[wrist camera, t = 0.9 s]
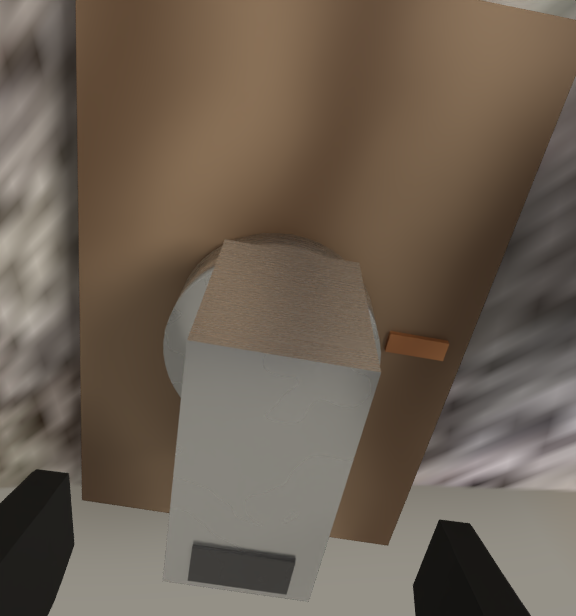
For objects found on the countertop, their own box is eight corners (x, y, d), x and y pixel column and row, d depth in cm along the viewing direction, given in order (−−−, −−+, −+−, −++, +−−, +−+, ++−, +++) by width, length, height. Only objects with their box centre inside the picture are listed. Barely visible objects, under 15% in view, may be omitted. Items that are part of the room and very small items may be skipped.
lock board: (570, 23, 15) (599, 24, 13) (383, 516, 24) (388, 549, 23) (96, -74, 14) (70, -85, 13) (94, 472, 24) (80, 503, 22)
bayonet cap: (399, 244, 16) (455, 387, 10) (346, 422, 19) (364, 613, 13) (187, 206, 16) (107, 329, 10) (170, 393, 19) (103, 576, 13)
